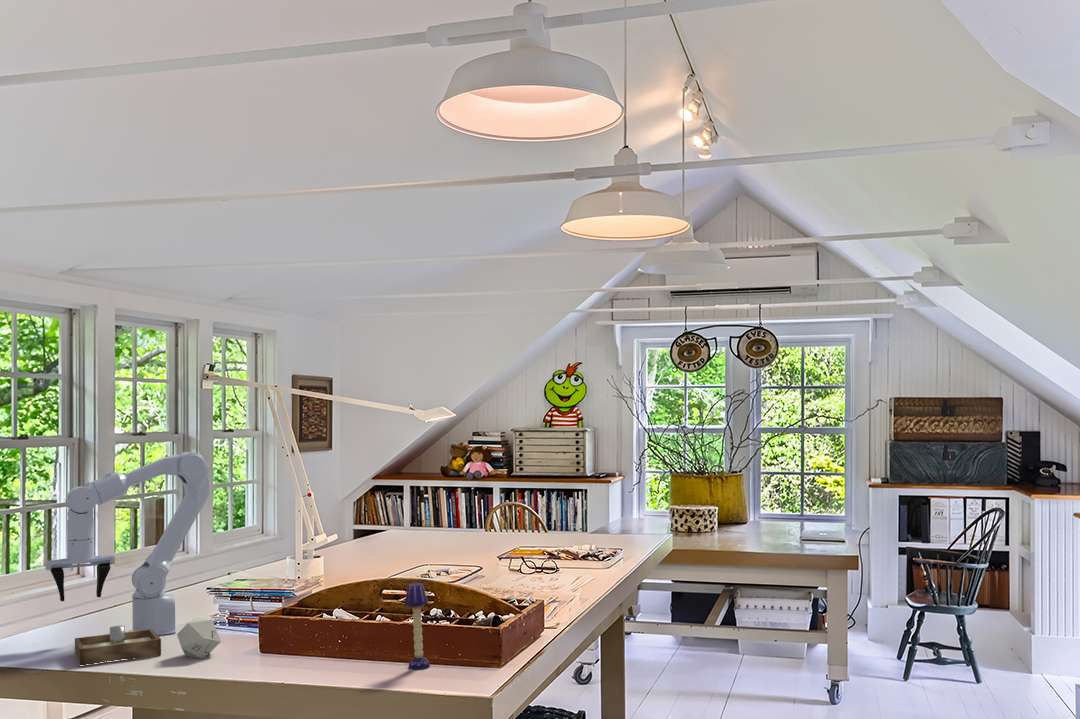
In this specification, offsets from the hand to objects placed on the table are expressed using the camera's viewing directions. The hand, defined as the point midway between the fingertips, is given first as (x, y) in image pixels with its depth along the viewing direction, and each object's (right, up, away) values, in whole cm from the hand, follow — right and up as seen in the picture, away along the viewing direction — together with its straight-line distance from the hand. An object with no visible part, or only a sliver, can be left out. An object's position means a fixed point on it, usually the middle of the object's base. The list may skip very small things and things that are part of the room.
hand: (80, 598), depth 233 cm
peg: (+14, -9, -13) cm, 21 cm away
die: (+32, -9, -15) cm, 37 cm away
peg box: (+14, -9, -13) cm, 21 cm away
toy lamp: (+81, -7, -28) cm, 86 cm away
